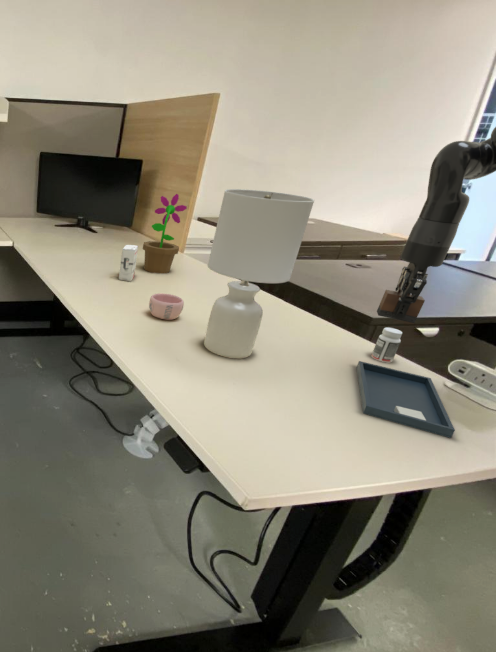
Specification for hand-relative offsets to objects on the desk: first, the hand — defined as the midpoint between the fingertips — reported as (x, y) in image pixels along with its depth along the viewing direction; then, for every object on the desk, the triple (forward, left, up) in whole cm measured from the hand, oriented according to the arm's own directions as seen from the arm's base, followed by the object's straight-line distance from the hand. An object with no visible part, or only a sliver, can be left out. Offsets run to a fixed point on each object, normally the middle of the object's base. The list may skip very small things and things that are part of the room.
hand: (396, 314), depth 108 cm
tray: (-4, +12, -16) cm, 20 cm away
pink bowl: (+54, -5, -16) cm, 57 cm away
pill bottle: (-3, -12, -16) cm, 20 cm away
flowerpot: (+71, -56, -16) cm, 92 cm away
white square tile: (-5, +21, -15) cm, 27 cm away
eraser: (0, 0, -1) cm, 1 cm away
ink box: (+77, -36, -16) cm, 87 cm away
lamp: (+33, +9, -16) cm, 38 cm away
